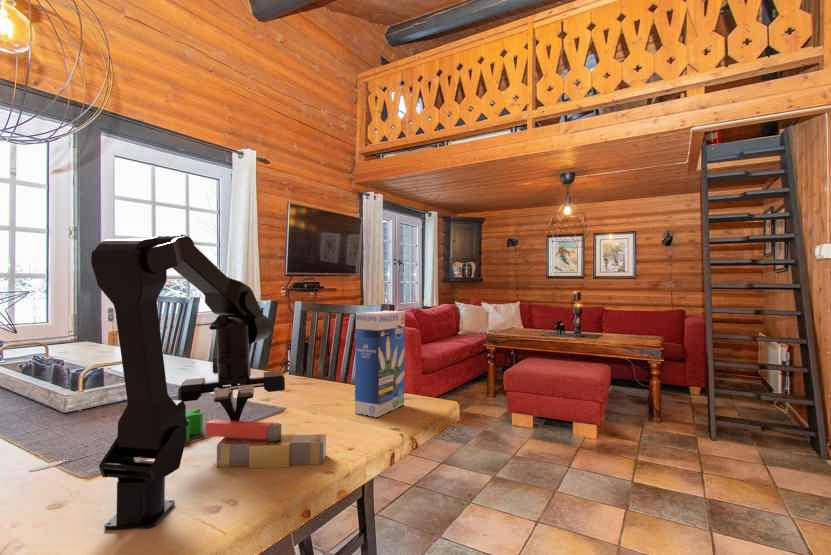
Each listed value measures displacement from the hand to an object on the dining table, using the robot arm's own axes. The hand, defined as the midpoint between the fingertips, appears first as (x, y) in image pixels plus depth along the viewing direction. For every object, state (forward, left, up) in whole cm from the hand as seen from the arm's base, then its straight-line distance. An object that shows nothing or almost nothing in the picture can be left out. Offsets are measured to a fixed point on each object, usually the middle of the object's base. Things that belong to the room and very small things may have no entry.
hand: (235, 428), depth 84 cm
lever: (-3, -3, 0) cm, 4 cm away
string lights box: (+27, -28, -5) cm, 39 cm away
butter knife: (+4, +25, -5) cm, 25 cm away
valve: (-4, -8, -5) cm, 10 cm away
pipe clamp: (+9, +13, -5) cm, 17 cm away
